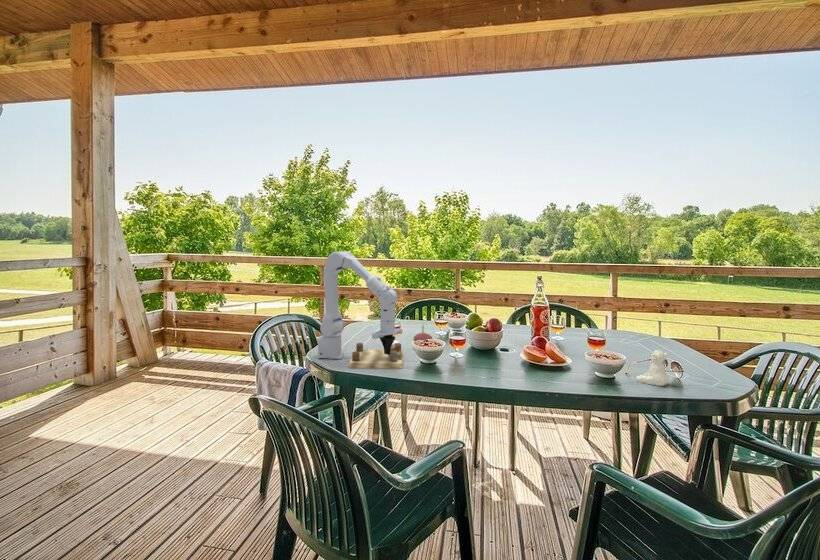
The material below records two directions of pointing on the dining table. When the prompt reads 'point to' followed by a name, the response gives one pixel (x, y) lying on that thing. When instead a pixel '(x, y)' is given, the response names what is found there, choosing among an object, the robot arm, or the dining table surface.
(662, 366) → the seated beast figurine
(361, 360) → the stool seat
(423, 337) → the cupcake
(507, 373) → the dining table surface
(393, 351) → the folding leg
